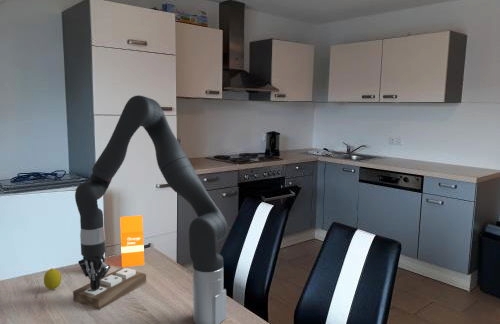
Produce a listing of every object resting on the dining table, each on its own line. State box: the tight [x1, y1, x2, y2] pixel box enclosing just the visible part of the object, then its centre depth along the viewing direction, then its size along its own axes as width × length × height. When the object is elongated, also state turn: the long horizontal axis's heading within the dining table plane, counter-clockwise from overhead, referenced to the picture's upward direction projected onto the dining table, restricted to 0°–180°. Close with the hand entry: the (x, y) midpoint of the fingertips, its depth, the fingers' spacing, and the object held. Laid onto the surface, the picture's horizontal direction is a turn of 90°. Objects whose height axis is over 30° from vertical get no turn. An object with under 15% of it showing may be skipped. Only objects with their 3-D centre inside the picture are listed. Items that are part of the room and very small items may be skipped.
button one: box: [116, 267, 137, 279], centre depth 146 cm, size 5×5×3 cm
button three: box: [84, 287, 107, 296], centre depth 133 cm, size 5×5×3 cm
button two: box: [100, 275, 122, 287], centre depth 139 cm, size 5×5×3 cm
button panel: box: [72, 267, 147, 311], centre depth 140 cm, size 12×22×4 cm, turn 153°
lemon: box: [43, 268, 62, 291], centre depth 140 cm, size 6×6×8 cm
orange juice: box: [119, 215, 145, 268], centre depth 164 cm, size 8×9×20 cm
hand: (95, 289), depth 133 cm, fingers closed
